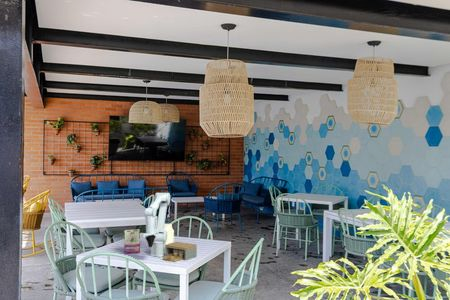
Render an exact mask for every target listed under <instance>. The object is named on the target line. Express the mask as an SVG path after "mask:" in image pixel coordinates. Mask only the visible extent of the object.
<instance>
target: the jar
mask: <svg viewBox="0 0 450 300" xmlns="http://www.w3.org/2000/svg"><path fill="white" fill-rule="evenodd" d="M164 229H165V230H166V231H167V241H166V242H165V245H167V244H170V243H173V242H175V230H174V229H173V224H172V223H165V225H164Z"/></svg>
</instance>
